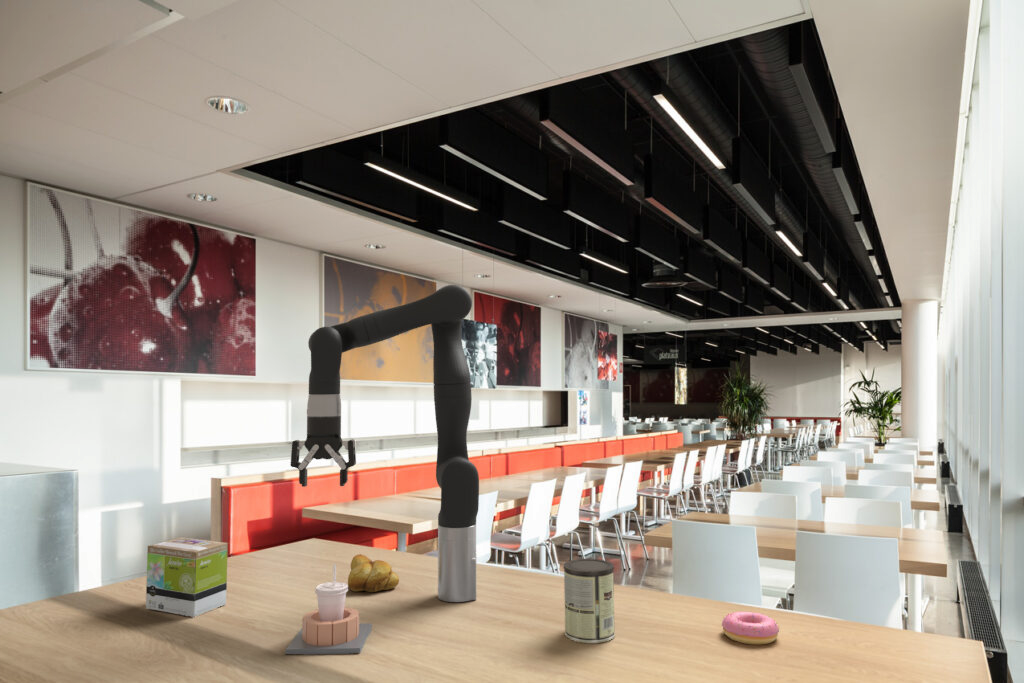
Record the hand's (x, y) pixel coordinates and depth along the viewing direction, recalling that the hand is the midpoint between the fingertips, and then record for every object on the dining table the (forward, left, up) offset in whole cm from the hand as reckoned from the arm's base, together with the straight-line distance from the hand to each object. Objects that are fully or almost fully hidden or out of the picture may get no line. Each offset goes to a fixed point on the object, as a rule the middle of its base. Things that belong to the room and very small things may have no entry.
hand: (323, 486), depth 160 cm
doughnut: (-90, +20, -28) cm, 97 cm away
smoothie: (-6, +18, -27) cm, 33 cm away
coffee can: (-58, +17, -28) cm, 67 cm away
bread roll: (-9, -18, -28) cm, 35 cm away
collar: (-6, +18, -28) cm, 34 cm away
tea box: (+32, -5, -28) cm, 43 cm away
